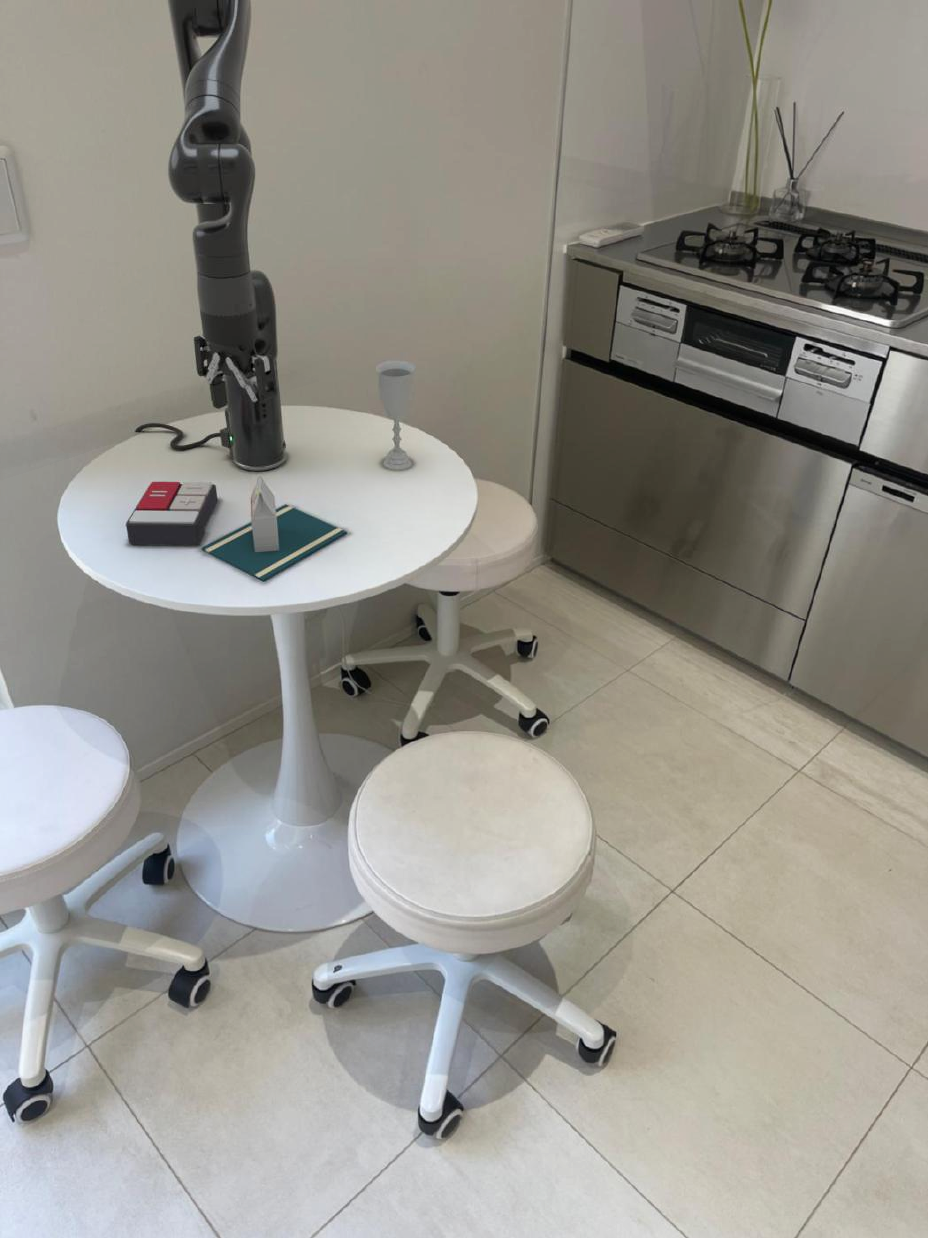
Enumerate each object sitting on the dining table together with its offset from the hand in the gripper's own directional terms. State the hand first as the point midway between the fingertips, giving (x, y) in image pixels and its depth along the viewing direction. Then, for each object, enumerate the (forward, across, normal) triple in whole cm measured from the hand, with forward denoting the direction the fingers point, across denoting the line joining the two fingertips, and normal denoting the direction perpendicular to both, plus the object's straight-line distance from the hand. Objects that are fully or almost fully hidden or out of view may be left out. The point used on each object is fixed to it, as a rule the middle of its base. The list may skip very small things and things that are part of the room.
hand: (240, 414), depth 140 cm
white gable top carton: (+21, -3, 0) cm, 21 cm away
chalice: (+21, 0, -34) cm, 40 cm away
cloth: (+21, -4, -1) cm, 21 cm away
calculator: (+22, +14, +5) cm, 26 cm away
